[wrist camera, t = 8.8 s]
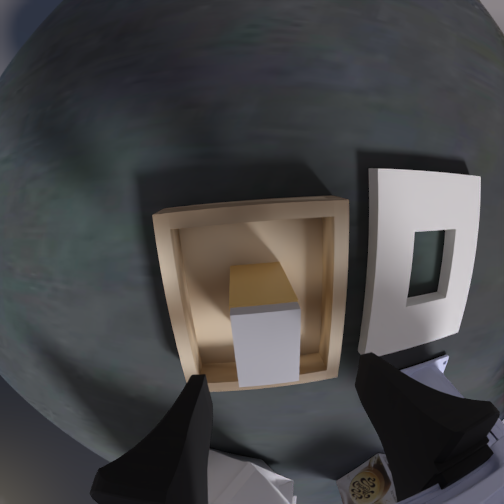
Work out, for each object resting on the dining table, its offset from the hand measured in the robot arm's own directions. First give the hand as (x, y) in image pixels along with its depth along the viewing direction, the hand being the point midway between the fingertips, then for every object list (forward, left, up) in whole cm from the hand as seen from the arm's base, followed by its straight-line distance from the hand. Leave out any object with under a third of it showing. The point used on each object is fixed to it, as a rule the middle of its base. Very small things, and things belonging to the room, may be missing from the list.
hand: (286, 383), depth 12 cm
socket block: (+1, -14, -10) cm, 18 cm away
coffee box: (-35, -15, -10) cm, 39 cm away
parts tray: (0, +1, -10) cm, 10 cm away
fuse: (0, +1, -9) cm, 9 cm away
